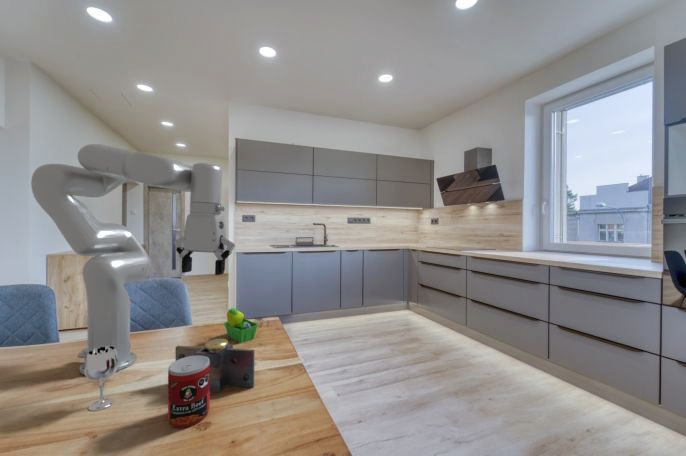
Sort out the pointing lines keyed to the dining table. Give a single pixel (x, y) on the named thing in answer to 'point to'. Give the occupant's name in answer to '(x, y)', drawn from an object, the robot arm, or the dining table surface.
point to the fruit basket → (239, 326)
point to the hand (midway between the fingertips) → (202, 273)
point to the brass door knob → (216, 345)
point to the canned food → (188, 391)
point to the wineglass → (101, 371)
